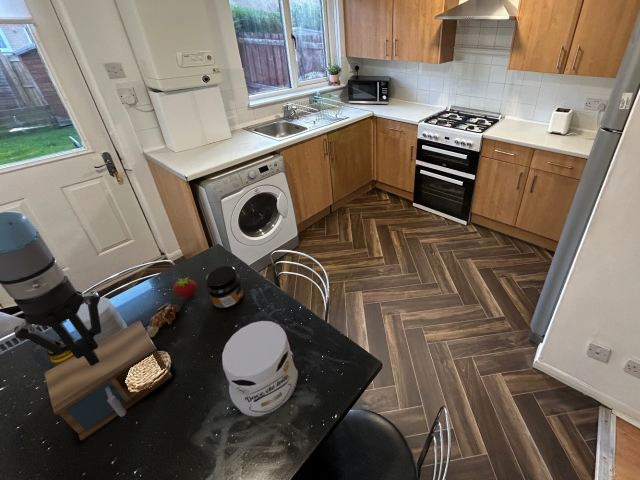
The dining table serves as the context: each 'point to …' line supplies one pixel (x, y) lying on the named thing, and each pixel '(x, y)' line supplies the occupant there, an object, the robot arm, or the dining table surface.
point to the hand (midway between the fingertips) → (94, 360)
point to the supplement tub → (103, 319)
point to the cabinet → (102, 374)
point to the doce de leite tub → (259, 368)
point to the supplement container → (224, 287)
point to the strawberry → (185, 287)
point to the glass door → (99, 404)
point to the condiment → (60, 356)
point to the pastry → (161, 318)
